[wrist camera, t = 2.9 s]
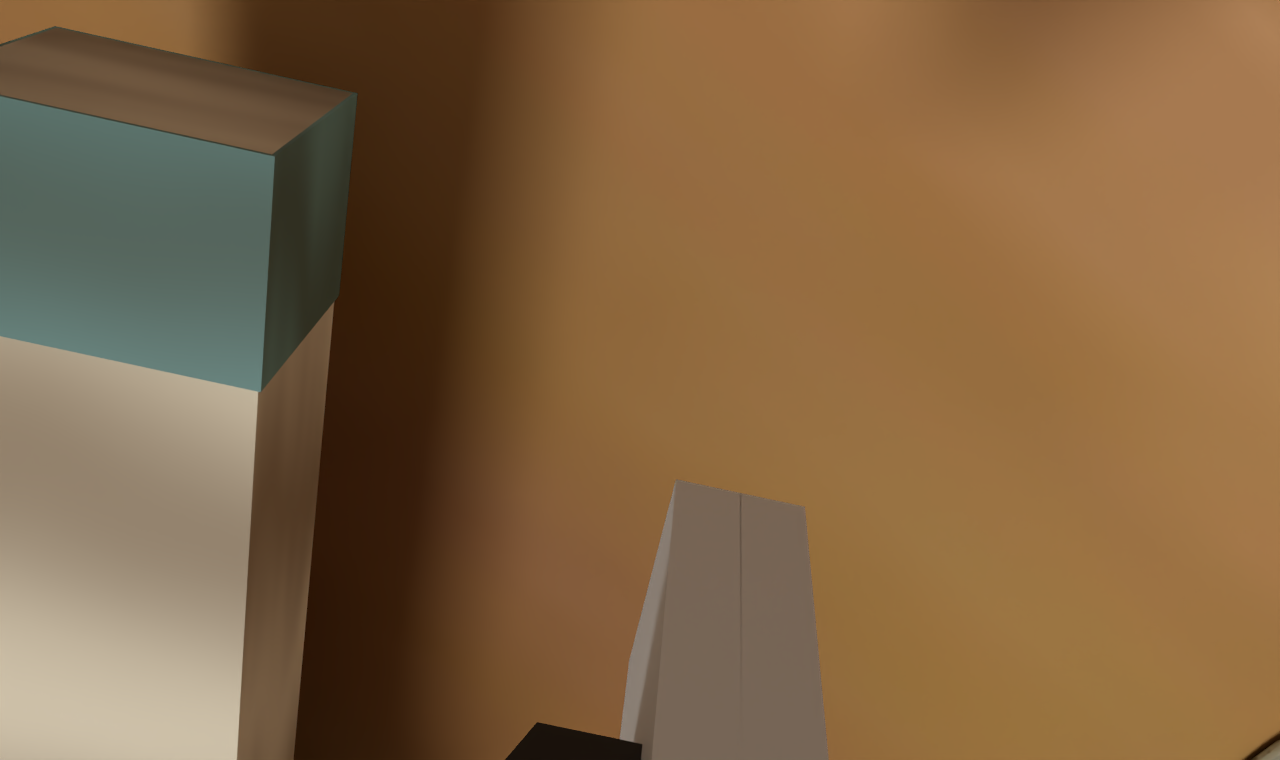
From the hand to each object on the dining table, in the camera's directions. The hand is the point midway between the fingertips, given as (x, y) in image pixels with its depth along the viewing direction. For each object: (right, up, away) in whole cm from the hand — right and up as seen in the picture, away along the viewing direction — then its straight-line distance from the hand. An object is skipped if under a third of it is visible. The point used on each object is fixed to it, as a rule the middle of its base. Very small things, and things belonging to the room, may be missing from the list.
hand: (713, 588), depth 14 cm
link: (-9, -4, +8) cm, 13 cm away
